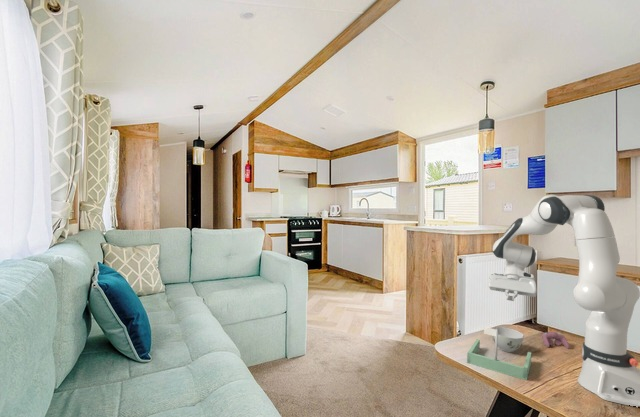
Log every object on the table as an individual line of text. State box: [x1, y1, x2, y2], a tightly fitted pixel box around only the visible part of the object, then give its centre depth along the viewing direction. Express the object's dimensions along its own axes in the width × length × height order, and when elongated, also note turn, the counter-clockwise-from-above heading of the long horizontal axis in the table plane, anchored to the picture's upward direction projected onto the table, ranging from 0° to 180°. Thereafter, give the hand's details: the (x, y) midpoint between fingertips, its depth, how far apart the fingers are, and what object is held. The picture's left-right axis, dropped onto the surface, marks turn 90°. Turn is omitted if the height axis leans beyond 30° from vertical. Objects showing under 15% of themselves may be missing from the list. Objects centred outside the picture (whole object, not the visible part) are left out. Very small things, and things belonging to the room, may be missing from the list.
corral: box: [466, 326, 532, 381], centre depth 130 cm, size 20×17×16 cm
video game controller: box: [540, 331, 570, 349], centre depth 147 cm, size 10×5×7 cm, turn 84°
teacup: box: [490, 326, 525, 353], centre depth 143 cm, size 15×12×8 cm
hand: (510, 299), depth 153 cm, fingers closed
